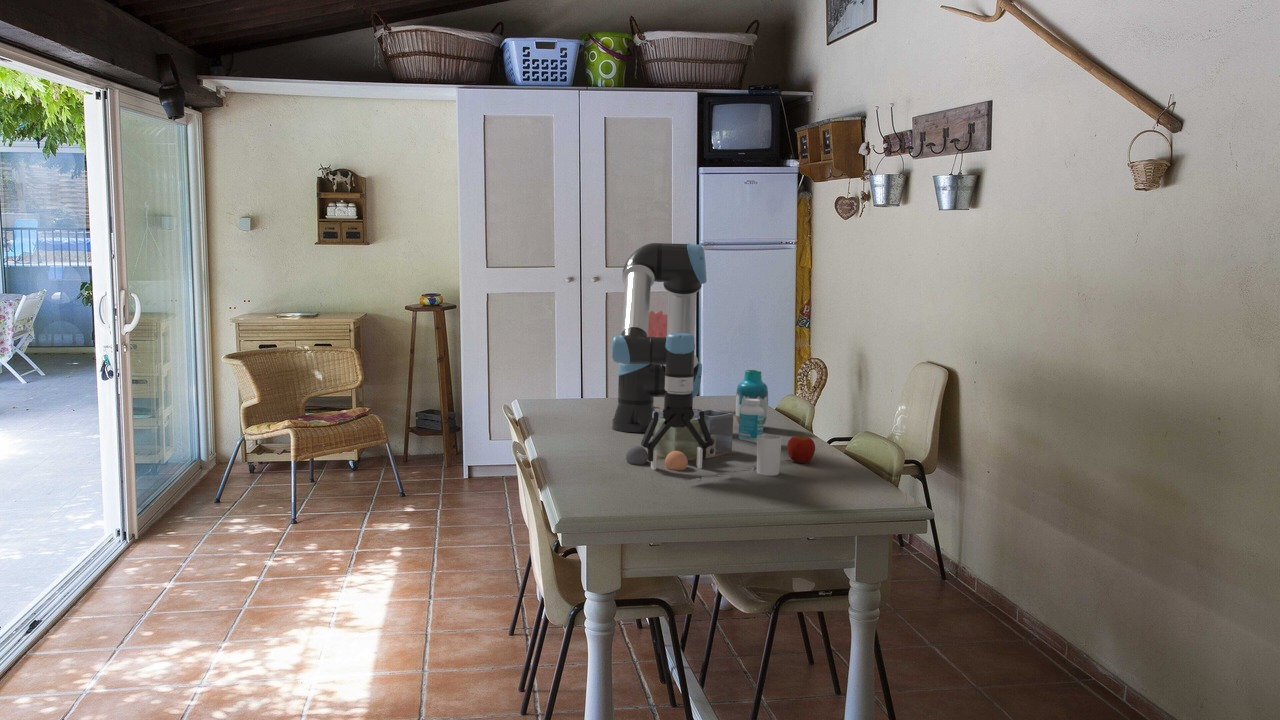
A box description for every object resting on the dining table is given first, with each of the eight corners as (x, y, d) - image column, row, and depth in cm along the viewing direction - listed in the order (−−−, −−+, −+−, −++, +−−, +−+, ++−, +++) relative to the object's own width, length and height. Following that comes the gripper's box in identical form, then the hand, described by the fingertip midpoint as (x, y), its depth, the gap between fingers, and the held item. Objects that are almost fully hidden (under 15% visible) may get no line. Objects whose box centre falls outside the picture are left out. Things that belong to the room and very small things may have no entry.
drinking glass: (773, 477, 270) (775, 440, 268) (751, 473, 273) (752, 436, 272) (784, 472, 275) (785, 436, 274) (761, 469, 279) (763, 433, 277)
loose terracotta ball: (659, 472, 271) (660, 450, 271) (675, 469, 275) (676, 447, 275) (676, 476, 267) (676, 454, 266) (691, 473, 271) (692, 451, 270)
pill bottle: (761, 446, 309) (763, 402, 307) (737, 444, 311) (738, 400, 309) (763, 441, 316) (765, 398, 315) (739, 439, 318) (741, 397, 316)
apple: (797, 466, 283) (798, 438, 282) (780, 460, 290) (782, 433, 289) (819, 464, 287) (821, 436, 286) (802, 458, 294) (804, 431, 293)
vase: (771, 427, 341) (773, 370, 338) (761, 432, 331) (763, 373, 329) (740, 423, 345) (743, 367, 343) (730, 428, 335) (732, 371, 333)
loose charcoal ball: (620, 467, 276) (621, 445, 276) (637, 464, 281) (637, 442, 280) (636, 471, 272) (636, 449, 271) (652, 468, 276) (652, 446, 275)
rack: (645, 461, 284) (646, 417, 282) (708, 449, 302) (709, 408, 300) (675, 469, 275) (677, 423, 274) (739, 456, 293) (740, 414, 292)
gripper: (637, 394, 262) (635, 477, 264) (726, 393, 268) (723, 474, 270) (630, 390, 269) (628, 470, 272) (718, 389, 275) (715, 468, 277)
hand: (676, 472), depth 271 cm, fingers open, 12 cm apart
